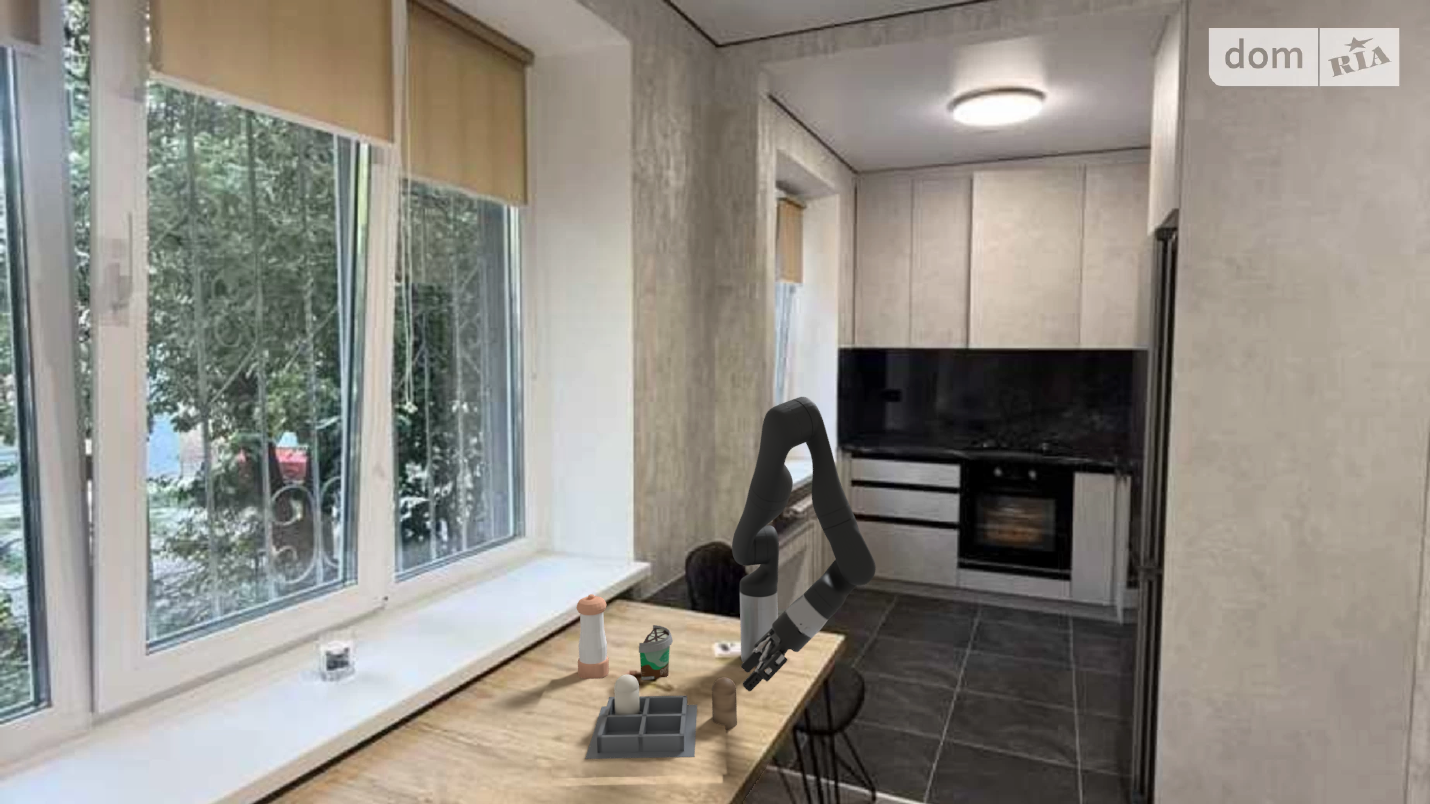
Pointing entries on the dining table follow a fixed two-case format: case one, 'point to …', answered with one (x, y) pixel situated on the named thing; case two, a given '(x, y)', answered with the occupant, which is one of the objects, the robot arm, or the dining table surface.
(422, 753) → the dining table surface
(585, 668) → the pepper shaker
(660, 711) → the grey compartment tray
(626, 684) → the white dome-top cylinder
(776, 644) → the robot arm
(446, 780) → the dining table surface
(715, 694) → the brown domed cylinder
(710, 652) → the dining table surface
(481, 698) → the dining table surface
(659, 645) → the food container
